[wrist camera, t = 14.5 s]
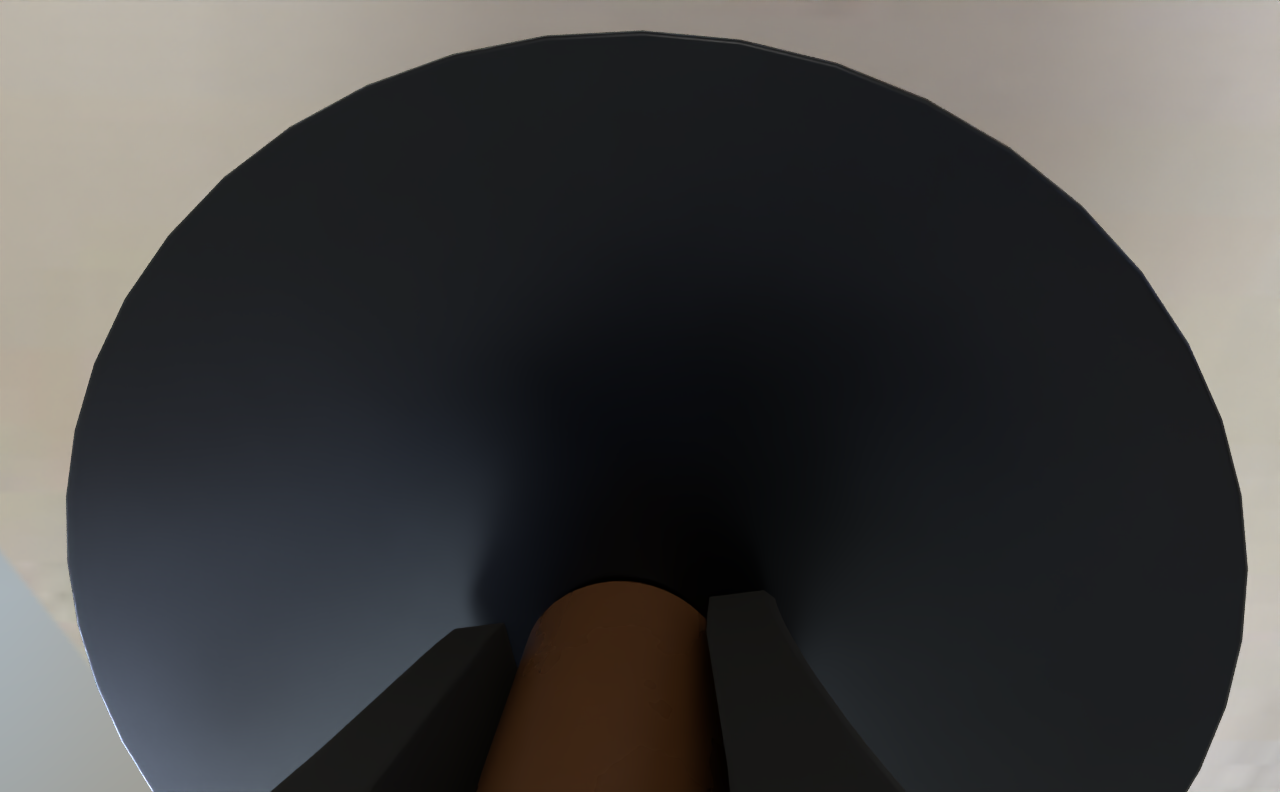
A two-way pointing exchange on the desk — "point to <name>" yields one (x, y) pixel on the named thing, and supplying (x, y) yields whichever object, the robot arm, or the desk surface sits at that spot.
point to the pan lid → (654, 435)
